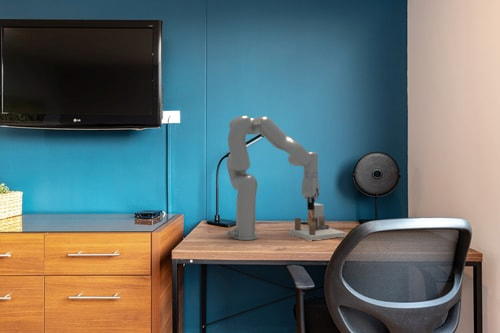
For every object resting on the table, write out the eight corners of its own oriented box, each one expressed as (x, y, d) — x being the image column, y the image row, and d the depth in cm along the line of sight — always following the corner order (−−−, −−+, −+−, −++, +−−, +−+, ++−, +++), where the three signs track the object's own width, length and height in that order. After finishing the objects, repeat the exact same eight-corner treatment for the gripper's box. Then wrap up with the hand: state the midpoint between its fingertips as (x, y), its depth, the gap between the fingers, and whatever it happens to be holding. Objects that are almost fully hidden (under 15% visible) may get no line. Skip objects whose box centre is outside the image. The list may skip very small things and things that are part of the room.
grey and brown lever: (326, 227, 185) (326, 216, 184) (330, 228, 182) (330, 217, 182) (310, 229, 180) (310, 217, 179) (314, 230, 177) (314, 218, 177)
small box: (307, 224, 206) (308, 203, 206) (317, 224, 208) (317, 203, 208) (314, 227, 198) (314, 205, 198) (323, 227, 200) (324, 204, 200)
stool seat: (311, 241, 164) (311, 223, 164) (289, 233, 180) (289, 217, 180) (345, 237, 175) (345, 220, 174) (322, 230, 190) (322, 215, 190)
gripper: (296, 174, 187) (296, 208, 188) (314, 176, 174) (314, 212, 175) (307, 174, 191) (307, 207, 191) (325, 175, 178) (325, 210, 178)
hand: (310, 209), depth 183 cm, fingers closed
